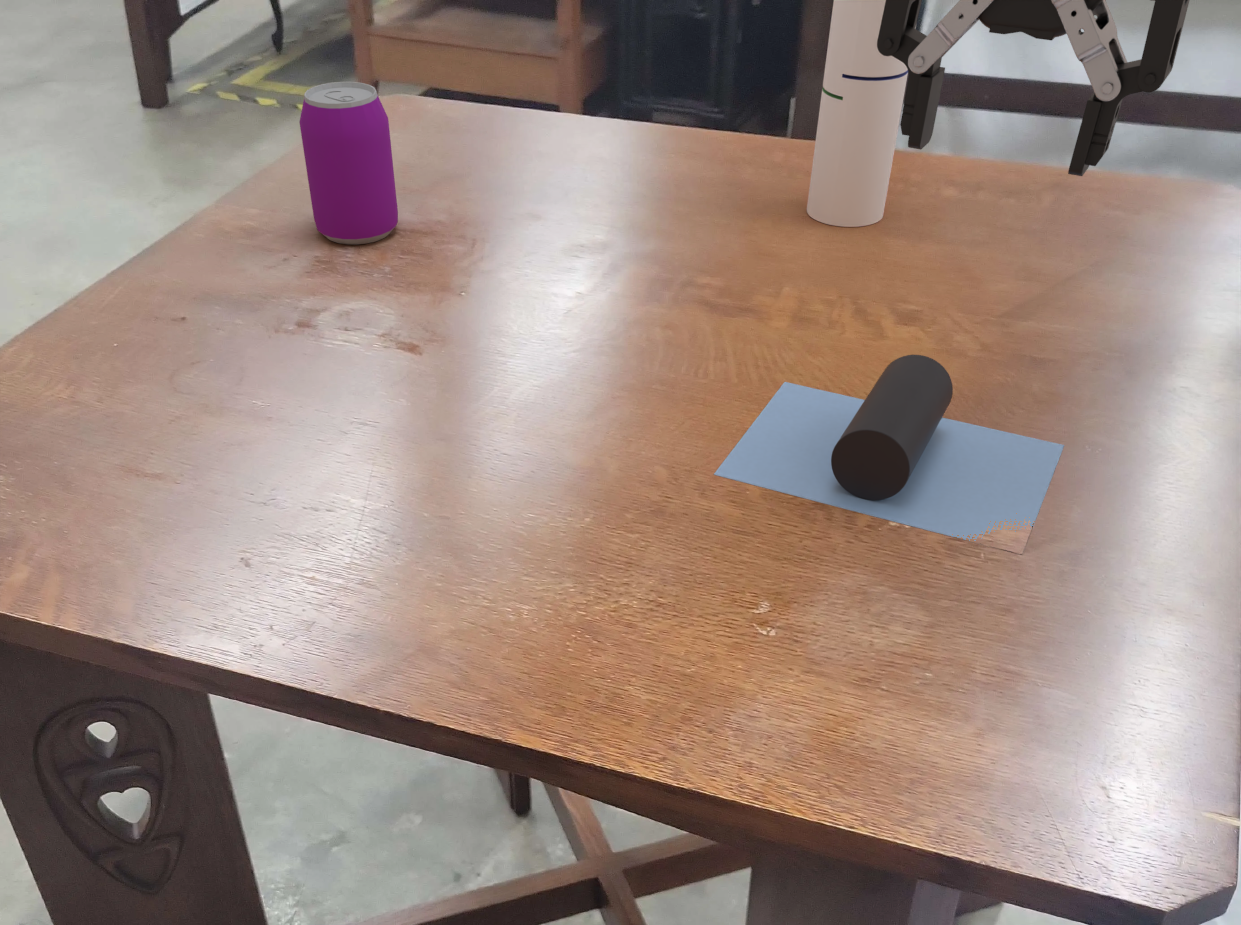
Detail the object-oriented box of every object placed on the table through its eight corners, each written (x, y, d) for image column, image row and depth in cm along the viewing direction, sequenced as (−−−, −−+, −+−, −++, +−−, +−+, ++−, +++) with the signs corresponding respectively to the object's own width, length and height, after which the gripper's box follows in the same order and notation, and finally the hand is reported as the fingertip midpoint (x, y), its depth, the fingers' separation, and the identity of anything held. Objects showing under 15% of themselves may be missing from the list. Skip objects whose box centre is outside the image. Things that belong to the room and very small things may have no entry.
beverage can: (416, 231, 109) (403, 92, 101) (347, 255, 106) (328, 112, 98) (367, 208, 114) (351, 73, 106) (300, 230, 110) (277, 92, 102)
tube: (877, 417, 84) (881, 350, 81) (949, 425, 82) (956, 357, 79) (829, 494, 77) (831, 425, 74) (906, 506, 75) (912, 435, 72)
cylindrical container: (867, 232, 108) (920, -89, 91) (794, 217, 111) (833, -97, 94) (894, 206, 113) (949, -104, 96) (824, 192, 116) (865, -112, 99)
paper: (1063, 447, 81) (1064, 444, 81) (1021, 557, 72) (1022, 554, 71) (784, 384, 88) (784, 381, 87) (713, 476, 78) (713, 474, 78)
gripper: (1268, -221, 52) (1148, 159, 63) (950, -235, 58) (890, 117, 69) (1244, -202, 48) (1119, 205, 58) (900, -219, 53) (845, 156, 64)
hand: (996, 157), depth 64 cm, fingers open, 8 cm apart
